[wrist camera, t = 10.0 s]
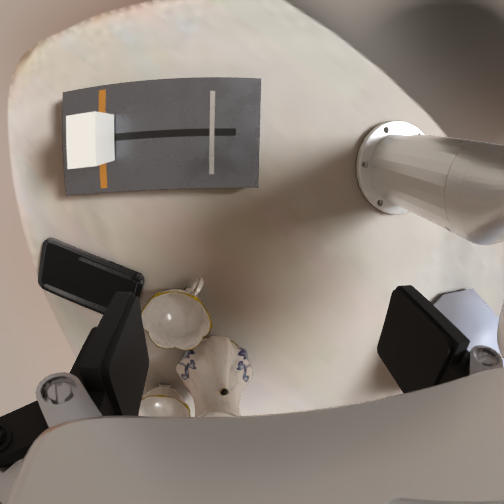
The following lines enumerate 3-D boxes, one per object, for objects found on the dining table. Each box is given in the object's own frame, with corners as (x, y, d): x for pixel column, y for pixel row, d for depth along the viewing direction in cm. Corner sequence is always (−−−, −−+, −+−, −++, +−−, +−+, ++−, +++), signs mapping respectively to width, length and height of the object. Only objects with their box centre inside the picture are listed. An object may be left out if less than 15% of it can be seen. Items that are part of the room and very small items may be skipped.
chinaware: (143, 258, 40) (93, 327, 25) (269, 276, 41) (284, 357, 26) (147, 403, 50) (126, 478, 34) (240, 416, 51) (240, 495, 35)
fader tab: (114, 114, 29) (95, 111, 23) (114, 160, 31) (96, 166, 25) (88, 117, 28) (66, 115, 23) (89, 162, 30) (67, 169, 25)
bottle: (418, 386, 56) (462, 448, 38) (384, 341, 49) (441, 419, 31) (485, 323, 53) (539, 373, 35) (466, 264, 46) (540, 316, 29)
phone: (131, 324, 41) (37, 286, 37) (132, 320, 42) (40, 282, 38) (145, 277, 38) (44, 236, 35) (147, 273, 39) (47, 233, 36)
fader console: (256, 83, 33) (261, 78, 30) (254, 183, 37) (258, 187, 34) (73, 94, 30) (62, 92, 27) (75, 190, 34) (65, 195, 31)
